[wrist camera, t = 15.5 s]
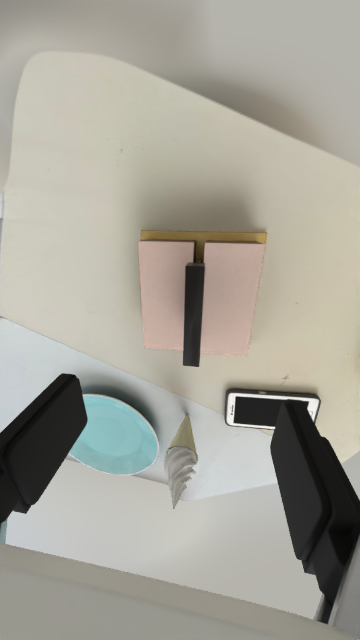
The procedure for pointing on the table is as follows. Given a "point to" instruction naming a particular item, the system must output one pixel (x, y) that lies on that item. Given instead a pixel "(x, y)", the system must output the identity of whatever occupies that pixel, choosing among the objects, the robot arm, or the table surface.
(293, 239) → the table surface
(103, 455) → the plate
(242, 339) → the cake
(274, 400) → the cell phone
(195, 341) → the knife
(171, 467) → the ice cream cone
